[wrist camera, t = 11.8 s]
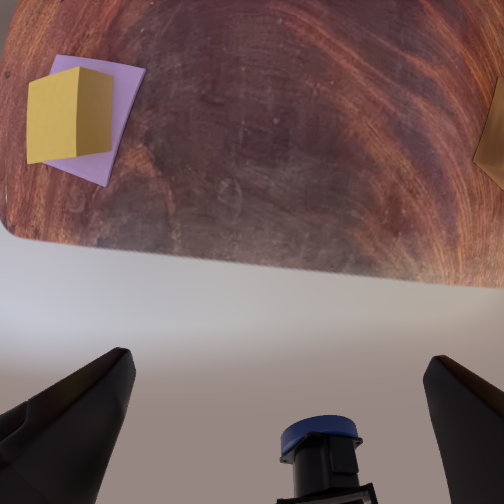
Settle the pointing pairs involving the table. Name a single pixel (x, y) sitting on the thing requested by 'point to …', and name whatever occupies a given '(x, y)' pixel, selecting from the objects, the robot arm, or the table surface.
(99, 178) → the towel
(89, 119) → the cheese
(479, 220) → the table surface
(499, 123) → the stand
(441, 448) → the robot arm
